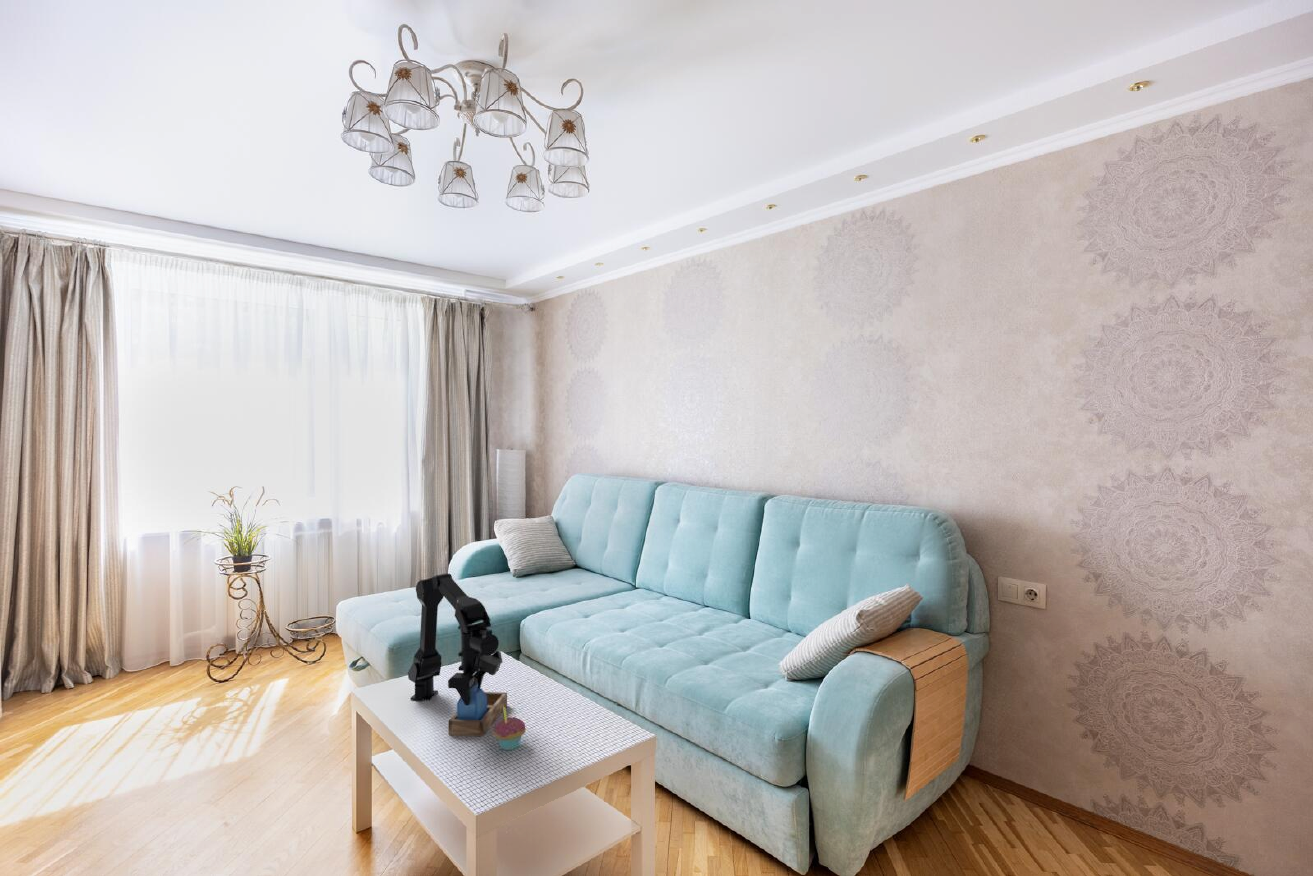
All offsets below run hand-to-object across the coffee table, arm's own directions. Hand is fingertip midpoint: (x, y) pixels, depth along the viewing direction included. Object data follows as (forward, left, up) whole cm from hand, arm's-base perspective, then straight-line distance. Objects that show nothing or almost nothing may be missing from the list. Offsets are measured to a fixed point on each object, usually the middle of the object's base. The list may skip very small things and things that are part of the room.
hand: (472, 700), depth 177 cm
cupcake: (+9, +15, -8) cm, 19 cm away
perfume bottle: (0, 0, -6) cm, 6 cm away
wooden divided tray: (-5, 0, -8) cm, 9 cm away
